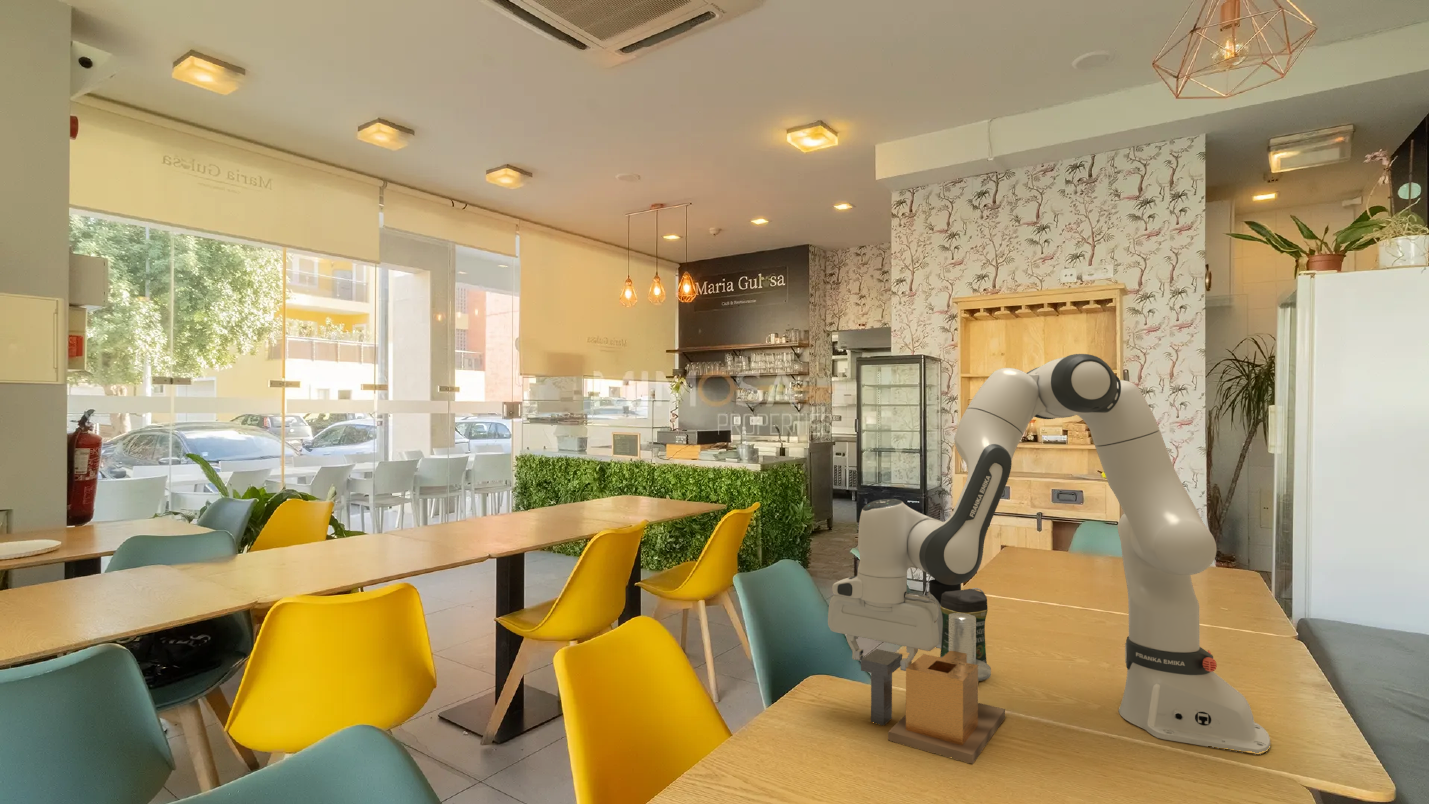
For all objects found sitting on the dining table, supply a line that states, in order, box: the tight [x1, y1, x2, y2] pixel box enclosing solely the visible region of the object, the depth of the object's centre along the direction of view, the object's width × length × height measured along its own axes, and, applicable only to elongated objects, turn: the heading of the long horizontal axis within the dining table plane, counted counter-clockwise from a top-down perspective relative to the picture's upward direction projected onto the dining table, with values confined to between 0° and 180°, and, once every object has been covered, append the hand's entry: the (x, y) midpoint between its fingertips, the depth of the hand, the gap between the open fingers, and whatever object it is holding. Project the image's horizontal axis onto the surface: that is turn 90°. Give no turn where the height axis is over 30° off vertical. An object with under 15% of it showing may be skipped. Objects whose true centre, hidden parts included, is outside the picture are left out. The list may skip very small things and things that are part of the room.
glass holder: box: [927, 578, 985, 649], centre depth 172 cm, size 9×14×15 cm, turn 88°
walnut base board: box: [887, 702, 1006, 765], centre depth 125 cm, size 22×14×2 cm, turn 145°
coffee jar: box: [939, 588, 989, 664], centre depth 150 cm, size 10×8×19 cm
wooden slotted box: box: [905, 613, 992, 745], centre depth 127 cm, size 22×10×16 cm, turn 145°
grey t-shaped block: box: [860, 648, 903, 726], centre depth 128 cm, size 7×5×12 cm
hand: (881, 664), depth 128 cm, fingers open, 8 cm apart
